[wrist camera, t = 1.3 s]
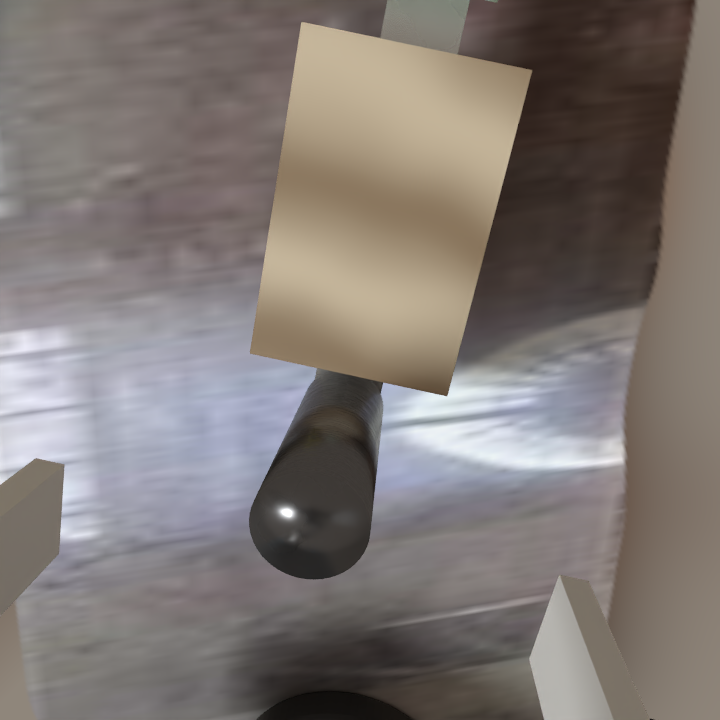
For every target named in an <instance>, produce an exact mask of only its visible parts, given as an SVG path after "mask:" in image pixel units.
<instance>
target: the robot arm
mask: <svg viewBox="0 0 720 720" xmlns="http://www.w3.org/2000/svg"><path fill="white" fill-rule="evenodd" d="M63 478H64V464H59V463H55V462H50V461H46V460H41V459H37V458H36V459H34V460H33V461H32V462H30V463H29V464H28V465H26V466H25V467H24V468H22V469H21V470H20V471H18V472H17V473H16V474H14V475H13V476H12V477H10V478H9V479H8V480H6V481H5V482H4V483H2V484H1V485H0V616H1V615H2V614H3V613H4V612H5V611H6V610H7V609H8V607H9V606H10V605H11V604H12V603H13V602H14V601H15V600H16V599H17V598H18V597H19V596H20V595H21V594H22V593H23V591H24V590H25V589H26V588H27V587H28V586H29V585H30V584H31V583H32V582H33V581H34V580H35V579H36V578H37V576H38V575H39V574H40V573H41V572H42V571H43V570H44V569H45V568H46V567H47V566H48V565H49V564H50V563H51V561H52V560H53V559H54V558H55V557H56V556H57V555H58V554H59V544H60V528H61V511H62V495H63ZM529 660H530V664H531V669H532V673H533V677H534V681H535V685H536V689H537V693H538V697H539V701H540V705H541V709H542V713H543V717H544V720H653V719H649V717H648V714H647V712H646V710H645V708H644V705H643V703H642V701H641V699H640V696H639V694H638V692H637V689H636V687H635V685H634V683H633V681H632V678H631V676H630V674H629V671H628V669H627V667H626V665H625V663H624V660H623V658H622V656H621V653H620V651H619V649H618V646H617V644H616V642H615V640H614V637H613V635H612V633H611V631H610V628H609V626H608V624H607V622H606V619H605V617H604V615H603V613H602V610H601V608H600V606H599V603H598V601H597V599H596V597H595V594H594V592H593V590H592V588H591V585H590V583H589V581H586V580H581V579H577V578H572V577H568V576H563V575H559V577H558V580H557V583H556V585H555V588H554V591H553V594H552V597H551V599H550V602H549V605H548V608H547V611H546V613H545V616H544V619H543V622H542V625H541V627H540V630H539V633H538V636H537V639H536V641H535V644H534V647H533V650H532V653H531V655H530V658H529ZM257 720H411V719H410V718H408V717H407V716H406V715H404V714H403V713H401V712H400V711H398V710H396V709H395V708H393V707H391V706H389V705H387V704H385V703H382V702H380V701H377V700H375V699H371V698H368V697H365V696H361V695H356V694H350V693H342V692H319V693H311V694H305V695H301V696H297V697H294V698H291V699H288V700H285V701H283V702H281V703H279V704H277V705H275V706H273V707H272V708H270V709H269V710H267V711H266V712H264V713H263V714H262V715H261V716H260V717H259V718H258V719H257Z"/></svg>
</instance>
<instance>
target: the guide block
mask: <svg viewBox="0 0 720 720" xmlns="http://www.w3.org/2000/svg"><path fill="white" fill-rule="evenodd" d="M531 73H532V70H529V69H524V68H519V67H515V66H510V65H505V64H500V63H495V62H491V61H486V60H481V59H476V58H472V57H467V56H462V55H457V54H452V53H448V52H443V51H438V50H433V49H429V48H424V47H419V46H414V45H409V44H405V43H400V42H395V41H390V40H386V39H381V38H376V37H371V36H366V35H362V34H357V33H352V32H347V31H343V30H338V29H333V28H328V27H323V26H319V25H314V24H309V23H304V22H302V23H301V29H300V36H299V42H298V49H297V55H296V61H295V68H294V74H293V81H292V87H291V93H290V100H289V106H288V113H287V119H286V125H285V132H284V138H283V145H282V151H281V157H280V164H279V170H278V177H277V183H276V189H275V196H274V202H273V209H272V215H271V221H270V228H269V234H268V241H267V247H266V253H265V260H264V266H263V273H262V279H261V285H260V292H259V298H258V305H257V311H256V318H255V324H254V330H253V337H252V343H251V350H250V354H255V355H260V356H264V357H269V358H274V359H278V360H283V361H287V362H292V363H297V364H301V365H306V366H310V367H315V368H320V369H324V370H329V371H333V372H338V373H343V374H347V375H352V376H356V377H361V378H366V379H370V380H375V381H379V382H384V383H389V384H393V385H398V386H402V387H407V388H412V389H416V390H421V391H425V392H430V393H435V394H439V395H444V396H447V395H448V391H449V387H450V383H451V379H452V376H453V372H454V368H455V364H456V360H457V357H458V353H459V349H460V345H461V341H462V337H463V334H464V330H465V326H466V322H467V318H468V314H469V311H470V307H471V303H472V299H473V295H474V291H475V288H476V284H477V280H478V276H479V272H480V269H481V265H482V261H483V257H484V253H485V249H486V246H487V242H488V238H489V234H490V230H491V226H492V223H493V219H494V215H495V211H496V207H497V204H498V200H499V196H500V192H501V188H502V184H503V181H504V177H505V173H506V169H507V165H508V161H509V158H510V154H511V150H512V146H513V142H514V138H515V135H516V131H517V127H518V123H519V119H520V116H521V112H522V108H523V104H524V100H525V96H526V93H527V89H528V85H529V81H530V77H531Z"/></svg>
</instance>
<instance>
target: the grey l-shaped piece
mask: <svg viewBox="0 0 720 720" xmlns="http://www.w3.org/2000/svg"><path fill="white" fill-rule="evenodd" d="M469 1H470V0H388V1H387V6H386V11H385V16H384V22H383V27H382V32H381V37H380V38H381V39H386V40H390V41H395V42H400V43H405V44H409V45H414V46H419V47H424V48H429V49H433V50H438V51H443V52H448V53H452V54H458V49H459V45H460V41H461V36H462V32H463V27H464V23H465V19H466V14H467V10H468V5H469ZM382 385H383V382H379V381H375V380H370V379H366V378H361V377H356V376H352V375H347V374H343V373H338V372H333V371H329V370H324V369H320V368H317V371H316V377H315V380H314V381H313V382H312V383H311V385H310V386H309V388H308V390H307V392H306V394H305V396H304V398H303V400H302V402H301V404H300V406H299V408H298V410H297V413H296V415H295V417H294V419H293V421H292V423H291V425H290V427H289V429H288V431H287V433H286V435H285V437H284V440H283V442H282V444H281V446H280V448H279V450H278V452H277V454H276V456H275V458H274V460H273V462H272V464H271V467H270V469H269V471H268V473H267V475H266V477H265V479H264V481H263V483H262V485H261V487H260V489H259V491H258V494H257V496H256V498H255V500H254V502H253V505H252V507H251V511H250V517H249V527H250V533H251V536H252V539H253V542H254V544H255V546H256V548H257V549H258V551H259V552H260V554H261V555H262V556H263V557H264V558H265V559H266V560H267V561H268V562H269V563H270V564H271V565H273V566H274V567H275V568H277V569H278V570H280V571H282V572H284V573H286V574H289V575H291V576H295V577H298V578H304V579H324V578H330V577H333V576H336V575H338V574H341V573H343V572H345V571H346V570H348V569H349V568H351V567H352V566H353V565H354V564H355V563H356V562H357V561H358V560H359V559H360V558H361V556H362V555H363V553H364V552H365V550H366V548H367V545H368V542H369V537H370V530H371V521H372V511H373V502H374V492H375V483H376V473H377V464H378V454H379V445H380V435H381V426H382V416H383V401H382V397H381V389H382Z"/></svg>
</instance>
